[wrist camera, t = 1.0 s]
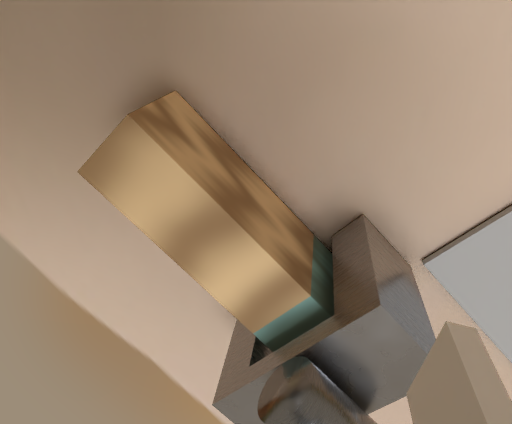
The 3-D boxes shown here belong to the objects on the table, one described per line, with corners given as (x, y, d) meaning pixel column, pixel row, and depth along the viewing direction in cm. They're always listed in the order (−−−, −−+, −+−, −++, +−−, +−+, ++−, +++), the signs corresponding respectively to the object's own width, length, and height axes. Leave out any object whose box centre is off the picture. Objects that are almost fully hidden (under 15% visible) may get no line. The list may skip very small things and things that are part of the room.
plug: (133, 136, 31) (77, 171, 24) (175, 90, 29) (127, 114, 22) (291, 291, 35) (283, 361, 28) (338, 260, 33) (341, 326, 26)
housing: (242, 299, 36) (194, 465, 23) (362, 214, 31) (391, 363, 18) (288, 342, 38) (268, 523, 24) (410, 267, 33) (471, 443, 19)
